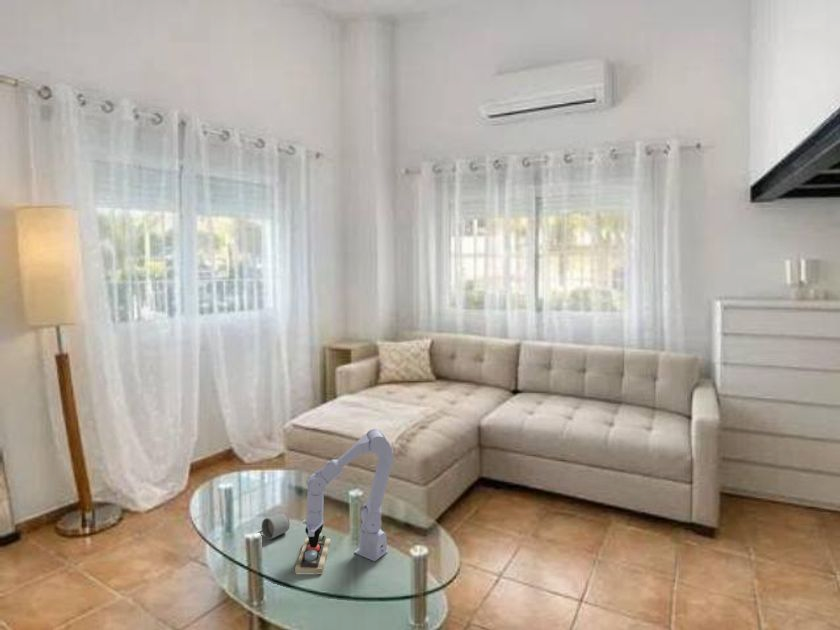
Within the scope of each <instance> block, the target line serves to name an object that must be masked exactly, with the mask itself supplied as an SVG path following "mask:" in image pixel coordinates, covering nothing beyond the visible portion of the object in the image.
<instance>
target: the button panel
mask: <svg viewBox="0 0 840 630" xmlns="http://www.w3.org/2000/svg"><path fill="white" fill-rule="evenodd" d="M304 539H305V540H304V543H303V545H302V547H301V550H300V554H299V557H298V559H297V562H296V565H295V567H294V574H295V573H317V574H318V573H319V574H322V575H323V572H324V570H323V569H325V566H326V565H325V564H326V561H327V557H328V554H329V549H330V547H331V546H330V545H331V538H327V537H326V535H322V541H320V542H318V544H319V545H320V552H317V559H316V560H315V561H313V562H307V561H305V552H306V551H308V546H309V545H310V542H309V538H308V537H306V538H304ZM317 574H316V575H317Z"/></svg>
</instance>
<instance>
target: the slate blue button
mask: <svg viewBox="0 0 840 630" xmlns="http://www.w3.org/2000/svg"><path fill="white" fill-rule="evenodd" d="M316 559H317V552H316V551H315V550H308V551H306V552H305V561H307V562H313V561H315V560H316Z"/></svg>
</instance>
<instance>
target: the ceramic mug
mask: <svg viewBox="0 0 840 630" xmlns="http://www.w3.org/2000/svg"><path fill="white" fill-rule="evenodd" d="M290 524H291V523H290V519H289V517H288V515H286V514H285V513H279V514H275V515H273V516H268V517H265V518H264V519H263V520H262V522H261V531H262V534H263V537H265V539H267V540H272V539H274V538H277V537H279V536H281V535H284V534H285V533H287V532H288V531H289V529H290Z"/></svg>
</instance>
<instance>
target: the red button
mask: <svg viewBox="0 0 840 630" xmlns="http://www.w3.org/2000/svg"><path fill="white" fill-rule="evenodd" d="M308 550H315V551H316V552H320V545H319V544H317V547H310V545H309V546H308Z"/></svg>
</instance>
